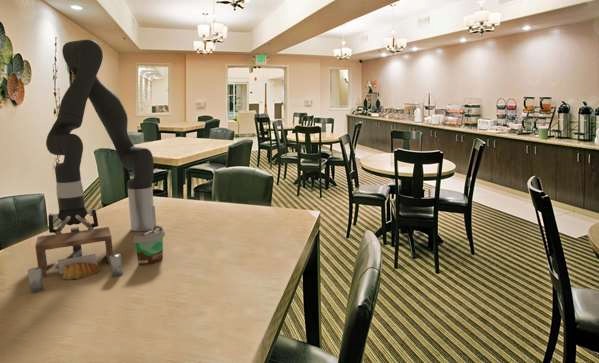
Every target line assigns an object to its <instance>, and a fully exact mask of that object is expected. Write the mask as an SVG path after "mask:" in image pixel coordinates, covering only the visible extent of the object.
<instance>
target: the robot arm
mask: <svg viewBox="0 0 599 363" xmlns="http://www.w3.org/2000/svg"><path fill="white" fill-rule="evenodd" d="M62 56H63V59H64V61H65V63H66V65H67V66H68V68H69V70H70V72H71V73H72V74H73V76H74V79H73V81H72V82H71V83H70V86H68V88H67V89H66V91H65V93H64V95H63V96H62V98H61V102H60V105H59V109H58V114H57V118H56V120H55V122H54V123H53V125H52V127H51V128H50V130H49V132H48V134H47V137H46V141H45V146H46V149H47V151H48V152H49V153H50V154H52V155H54V156H64V157H63V162H60V163H57V164H56V165H55V166H54V167H55V168H54V172H55V181H56V182H55V183H56V185H55V186H56V187H55V188H56V196H57V205H58V206H57V207H58V213H49V214H48V218H47V219H48V231H49V233H50V234H62V233H63V232H62V231H63V229H65V227H66V225H67V226H73V225H80V224H82V225H84V226H85V227H86V228H87V230H91V229H95V228H98V226H99V223H98V222H99V221H98V215H97V210H96V208H94V207H93V208H91V209H86V205H85V204H86V203H85V196H84V188H83V183H82V177H81V163H82V158H83V152H84V144H83V141H82V139H81V137H80V136H79V135H78V134H76V133H71V132H72V131H73V130H77V129H79V128H81V127H82V124H83V120H84V115H85V110H86V106H87V102H88V99H89V101H90V103H91V105H92V107H93V108H94V111H95V112H96V114H97V117H98V118H99V120H100V122H101V123H102V125H103V127H104V129H105V131H106V133H107V134H108V136H109V138H110V140H111V142H112V145H113V146H114V149H115V151H116V153H117V156H118V159H119V161H120V163H121V165H122V166H123V167H124V168H125V169H127V170H130V171H134V172H133V173H134V174H133V178H131V179H129V180H128V181H127V184H126V185H127V197H128V208H129V219H130V229H131V231H132V232H146V231H150V230H152V229H153V228H154V225H156V226H157V218H156V206H155V204H154V195H153V194H154V193H153V192H154V191H153V181H154V174H155V173H154V172H155V171H154V156H153V153H152V151H151V150H150V148H146V147H141V146H140V147H138V146H135V145H134V144H133V142H132V140H131V139H130V136H129V133H128V119H129V118H128V114H127V112H126V109H125V107H124V106H123V103H122V101H121V100H120V98H119V97H118V96H117V95H116V94H115V92H114V91H112V90H111V89H110V88H109V87H107V85H105V84H104V83H103V82H102V81H101V79H99V77H98V72H99V70H100V68H101V65H102V62H103V59H104V54H103V49H102V47H101V46H100V44H99V43H97V42H96V41H95V40H93V39H79V40H72V41H69V42H66V43H64V45H63V47H62ZM87 215H89V216H90V217H92V220H93V222H91V223H90V222H89V221H88V219H87V218H86V216H87ZM57 218H58V219H59V220H60V221H61V222H60V223H59V224H58V226H57V227H56V228H55V227H54V221H56V220H57Z"/></svg>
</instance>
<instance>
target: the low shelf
mask: <svg viewBox="0 0 599 363" xmlns="http://www.w3.org/2000/svg"><path fill="white" fill-rule="evenodd" d="M110 230H111V229H110V228H109V226H108V227H100V228H98V227H97V228H93V229H91V230H88V229H85V230H79V231H76V232H71V231H70V232H64V233H63V232H61V233H62V234H55V233H53V234H48V235H41V236H37V238H36V243H35V246H34V248H35V254H36V261H37V267H40V268H41V272H42V278H43V277H46V274H47V269H48V261H47V260H48V259H47V253H46V251H47V250H55V249H60V248H61V249H62V248H68V247H73V246H75V245H81V246H83V245H87V244H93V243H102V242H104V245H105V254H106V259H107V263H108V265H110V255H113V254H114V250H113V241H112V239H113V238H112V234H111V231H110Z"/></svg>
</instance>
